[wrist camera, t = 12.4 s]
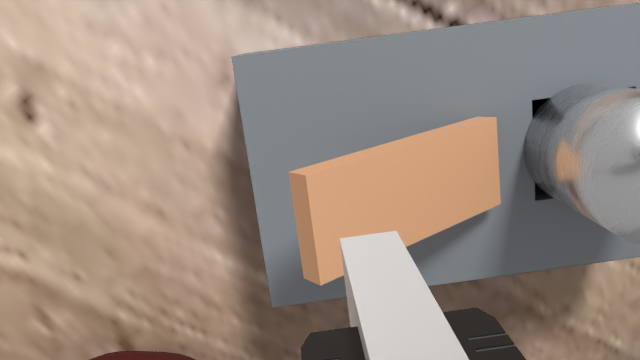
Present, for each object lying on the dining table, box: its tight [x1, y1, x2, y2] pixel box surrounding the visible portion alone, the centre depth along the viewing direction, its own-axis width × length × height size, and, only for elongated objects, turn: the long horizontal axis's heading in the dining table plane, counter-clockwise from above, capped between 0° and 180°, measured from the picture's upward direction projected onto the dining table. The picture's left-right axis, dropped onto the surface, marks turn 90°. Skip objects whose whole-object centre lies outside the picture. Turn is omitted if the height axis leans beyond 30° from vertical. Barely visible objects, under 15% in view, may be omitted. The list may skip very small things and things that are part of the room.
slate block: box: [232, 3, 640, 308], centre depth 29 cm, size 20×12×6 cm, turn 97°
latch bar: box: [289, 117, 501, 286], centre depth 22 cm, size 10×4×1 cm
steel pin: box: [524, 83, 640, 245], centre depth 26 cm, size 6×6×12 cm
